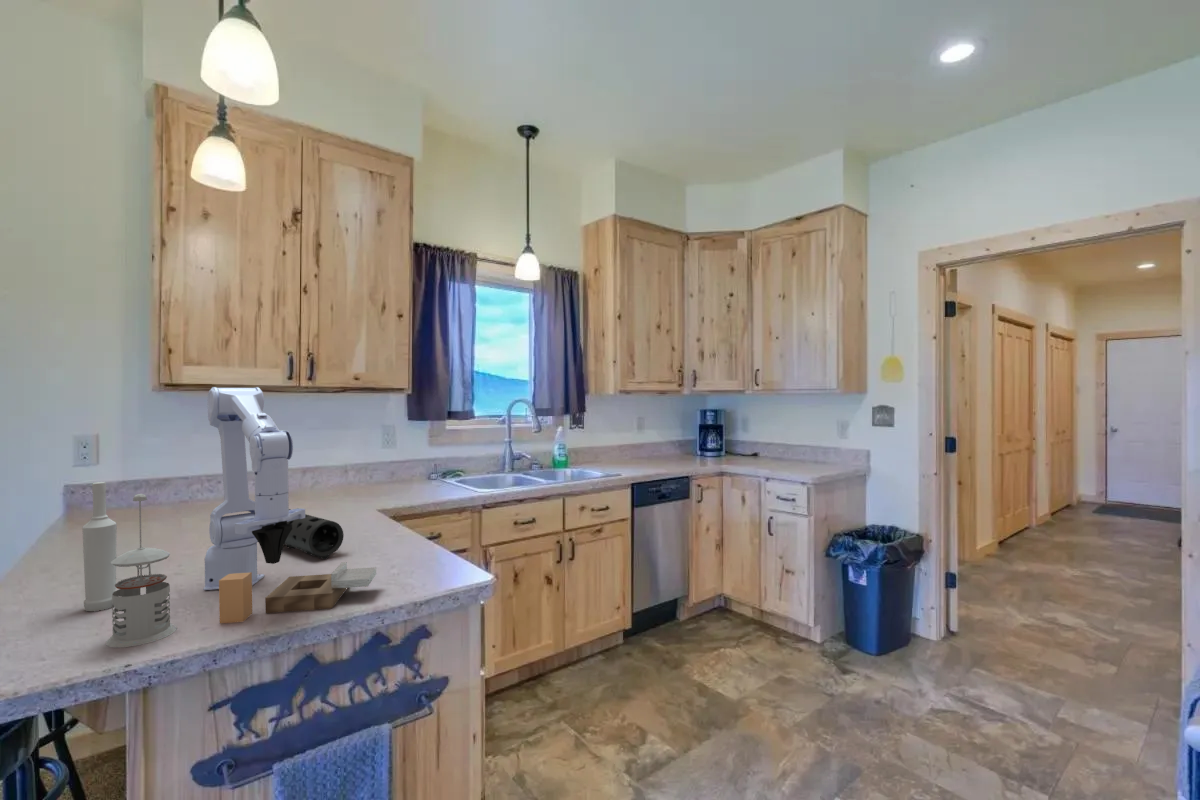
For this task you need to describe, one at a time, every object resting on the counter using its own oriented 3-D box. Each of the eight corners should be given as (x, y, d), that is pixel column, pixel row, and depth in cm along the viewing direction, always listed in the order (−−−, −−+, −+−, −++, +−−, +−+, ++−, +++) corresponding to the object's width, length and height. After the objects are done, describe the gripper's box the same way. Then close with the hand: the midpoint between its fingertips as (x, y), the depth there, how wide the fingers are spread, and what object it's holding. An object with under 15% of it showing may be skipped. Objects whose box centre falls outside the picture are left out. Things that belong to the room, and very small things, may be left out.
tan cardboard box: (219, 623, 104) (218, 580, 104) (229, 615, 108) (228, 573, 108) (243, 621, 105) (242, 578, 105) (252, 613, 109) (251, 572, 109)
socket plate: (265, 613, 109) (265, 597, 109) (289, 590, 121) (289, 576, 121) (331, 608, 111) (331, 593, 111) (348, 586, 124) (348, 572, 124)
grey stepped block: (331, 588, 113) (331, 573, 113) (341, 576, 121) (341, 562, 121) (368, 586, 115) (368, 571, 115) (376, 574, 122) (376, 560, 122)
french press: (101, 652, 92) (99, 501, 92) (110, 629, 102) (107, 491, 102) (176, 637, 98) (174, 494, 98) (177, 616, 108) (175, 486, 107)
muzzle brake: (308, 564, 141) (307, 523, 141) (260, 547, 158) (260, 510, 158) (345, 556, 148) (344, 516, 148) (295, 540, 165) (295, 505, 165)
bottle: (115, 600, 116) (113, 480, 116) (120, 606, 113) (118, 482, 113) (81, 608, 112) (79, 483, 112) (86, 614, 109) (84, 485, 109)
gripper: (255, 501, 102) (256, 575, 102) (316, 488, 116) (317, 553, 116) (225, 499, 104) (226, 572, 104) (289, 486, 118) (290, 551, 118)
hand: (272, 562), depth 110 cm, fingers closed
